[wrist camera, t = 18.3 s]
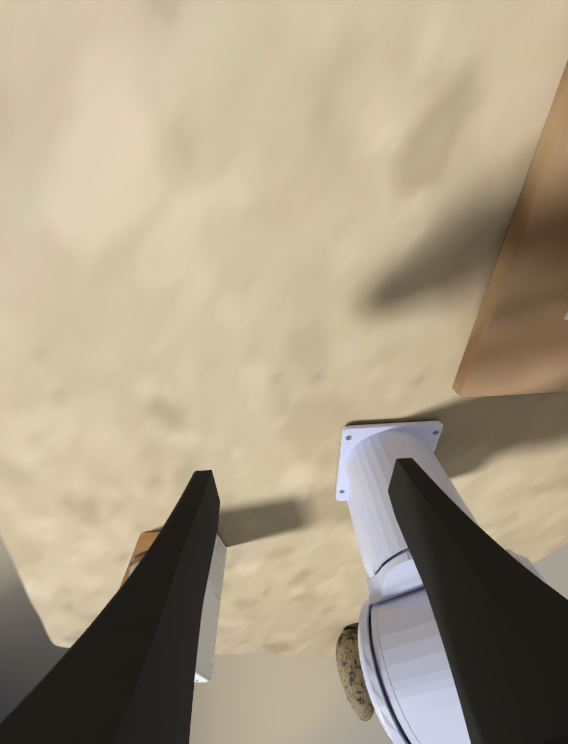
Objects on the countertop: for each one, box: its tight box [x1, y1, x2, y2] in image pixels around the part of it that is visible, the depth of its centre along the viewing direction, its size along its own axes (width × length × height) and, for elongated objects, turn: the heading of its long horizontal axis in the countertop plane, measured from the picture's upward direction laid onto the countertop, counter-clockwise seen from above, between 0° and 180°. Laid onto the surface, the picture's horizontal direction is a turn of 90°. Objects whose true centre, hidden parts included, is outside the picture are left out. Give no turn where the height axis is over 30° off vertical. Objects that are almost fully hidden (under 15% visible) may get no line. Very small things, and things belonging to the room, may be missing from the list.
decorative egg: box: [336, 629, 374, 721], centre depth 44 cm, size 6×6×10 cm
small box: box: [120, 531, 227, 682], centre depth 26 cm, size 8×6×10 cm
